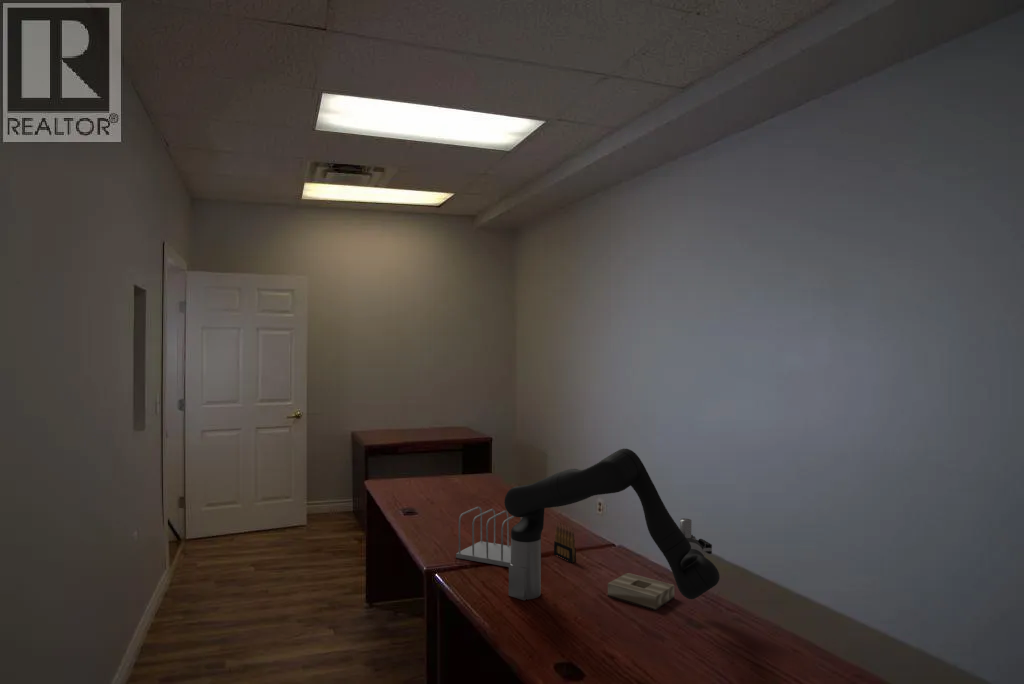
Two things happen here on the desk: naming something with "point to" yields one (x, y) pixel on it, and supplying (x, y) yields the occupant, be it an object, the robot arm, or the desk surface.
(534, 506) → the robot arm
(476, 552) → the file sorter
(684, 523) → the steel pin
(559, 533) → the ammunition clip
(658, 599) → the socket block
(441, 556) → the desk surface
